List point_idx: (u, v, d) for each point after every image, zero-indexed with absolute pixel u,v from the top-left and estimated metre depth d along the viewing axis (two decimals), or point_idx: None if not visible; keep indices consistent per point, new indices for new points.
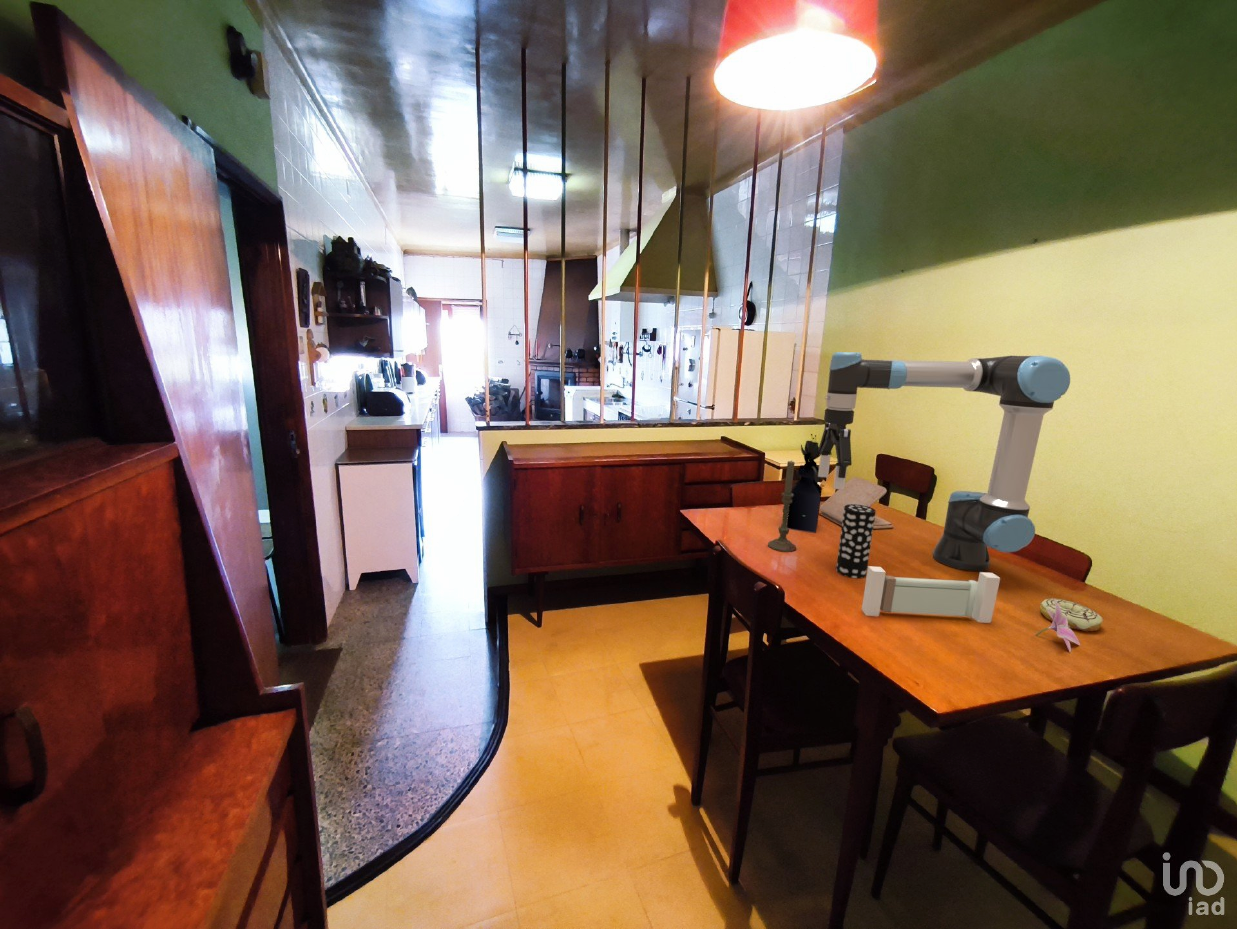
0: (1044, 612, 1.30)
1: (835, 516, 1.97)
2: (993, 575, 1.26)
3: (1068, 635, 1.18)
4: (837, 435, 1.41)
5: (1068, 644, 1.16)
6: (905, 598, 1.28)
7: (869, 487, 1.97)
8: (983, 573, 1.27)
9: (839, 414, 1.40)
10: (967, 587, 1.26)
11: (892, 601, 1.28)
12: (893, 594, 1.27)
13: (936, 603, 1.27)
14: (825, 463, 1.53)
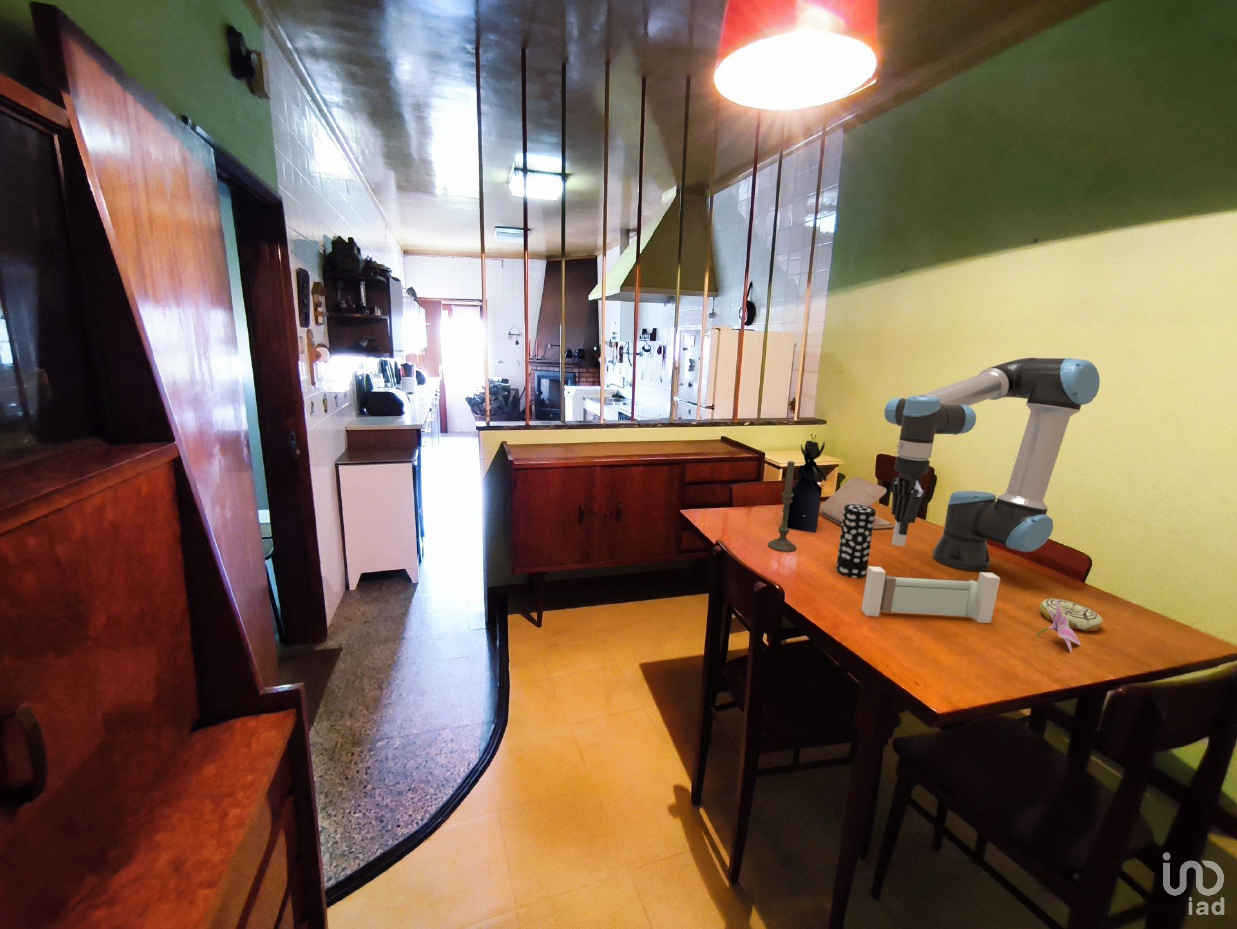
0: (1044, 612, 1.30)
1: (835, 516, 1.97)
2: (993, 575, 1.26)
3: (1069, 635, 1.18)
4: (909, 486, 1.30)
5: (1069, 644, 1.16)
6: (905, 598, 1.28)
7: (869, 487, 1.97)
8: (983, 573, 1.27)
9: (914, 465, 1.27)
10: (967, 587, 1.26)
11: (892, 601, 1.28)
12: (893, 594, 1.27)
13: (936, 603, 1.27)
14: None
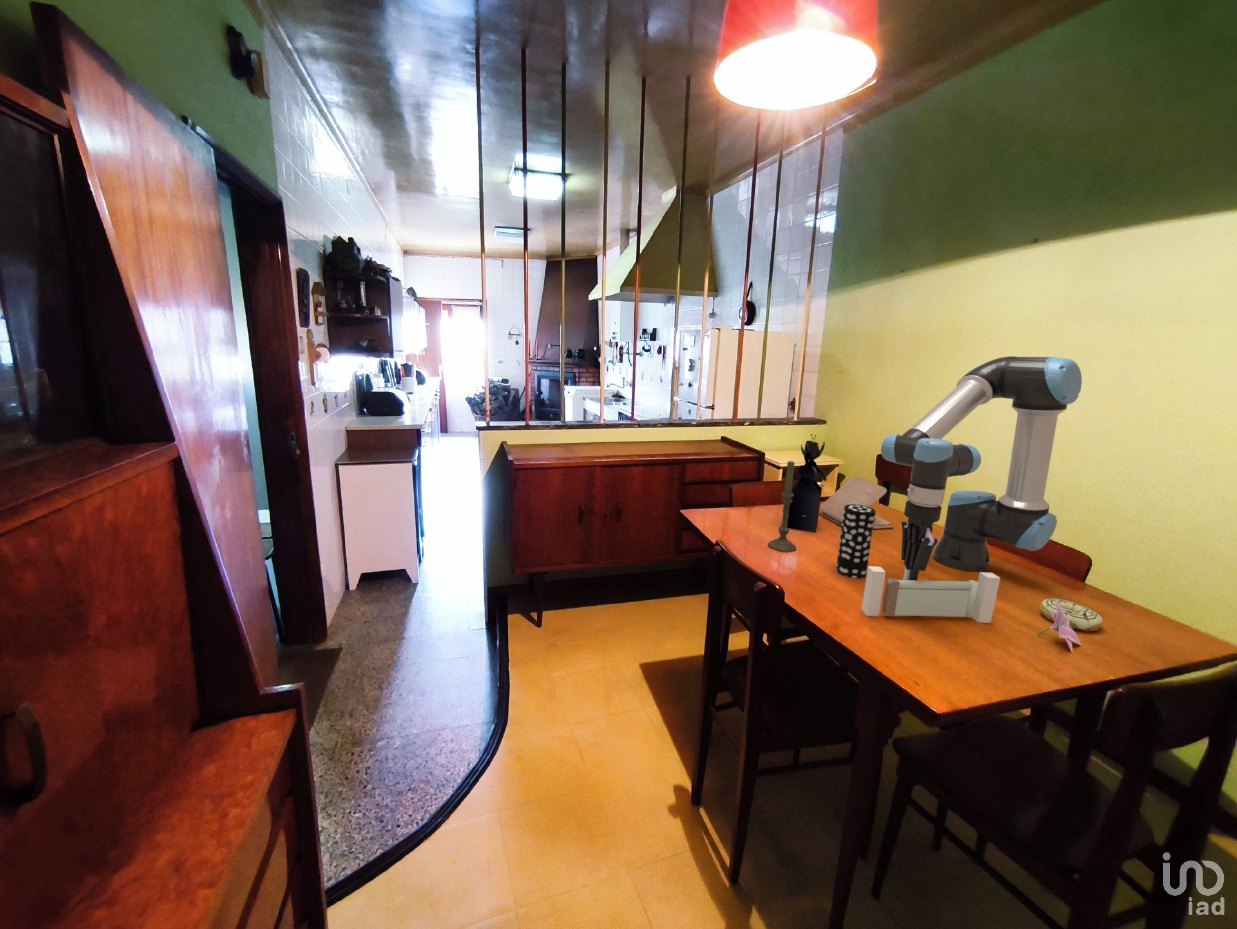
0: (1044, 612, 1.30)
1: (835, 516, 1.97)
2: (993, 575, 1.26)
3: (1070, 635, 1.18)
4: (920, 532, 1.23)
5: (1070, 644, 1.16)
6: (908, 601, 1.26)
7: (869, 487, 1.97)
8: (983, 573, 1.27)
9: (925, 511, 1.21)
10: (968, 587, 1.26)
11: (895, 604, 1.26)
12: (896, 597, 1.26)
13: (938, 604, 1.27)
14: None
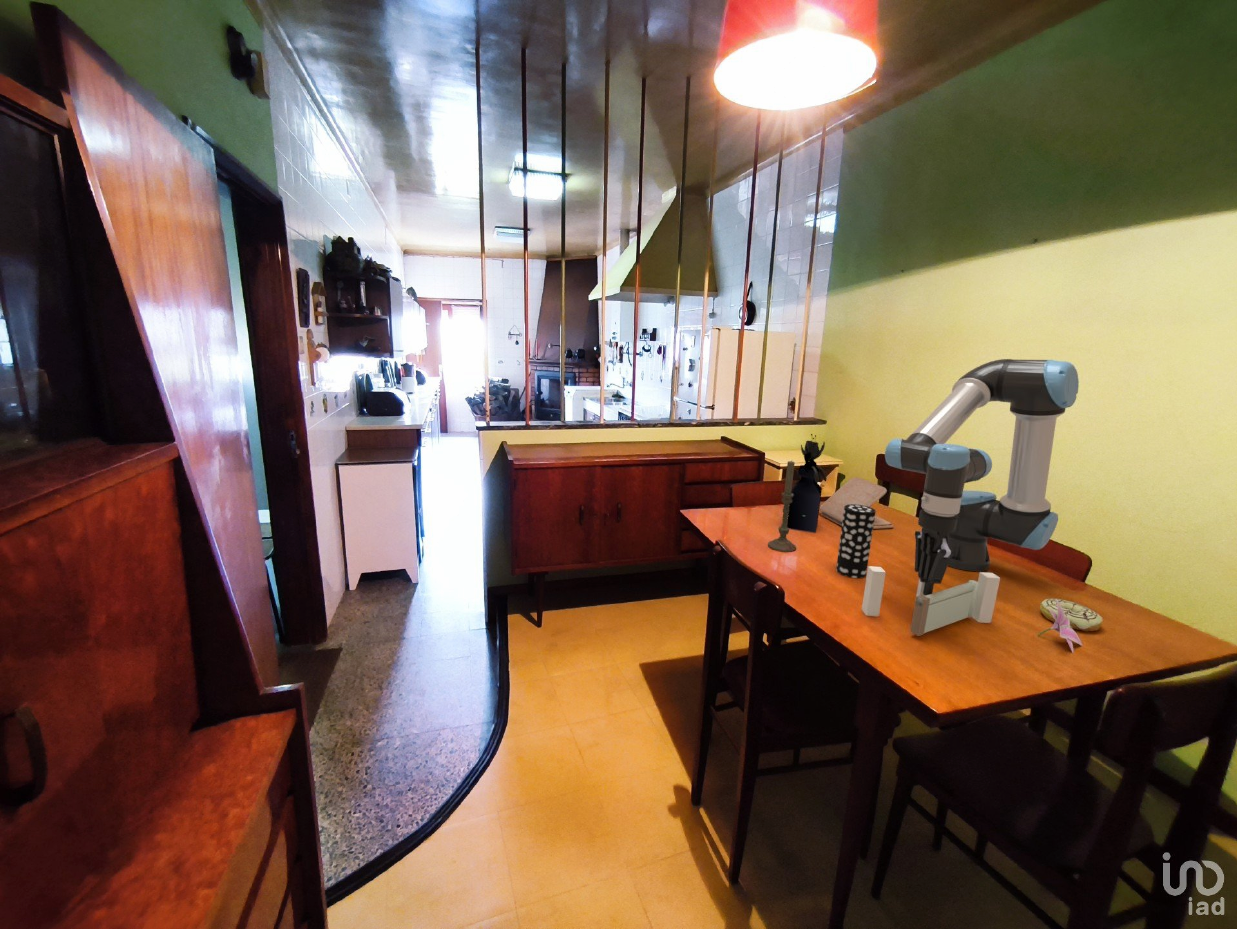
0: (1044, 612, 1.30)
1: (835, 516, 1.97)
2: (993, 575, 1.26)
3: (1071, 635, 1.18)
4: (935, 543, 1.17)
5: (1071, 644, 1.16)
6: (933, 615, 1.20)
7: (869, 487, 1.97)
8: (983, 573, 1.27)
9: (940, 521, 1.15)
10: (972, 589, 1.25)
11: (925, 622, 1.18)
12: (926, 614, 1.18)
13: (952, 612, 1.23)
14: None
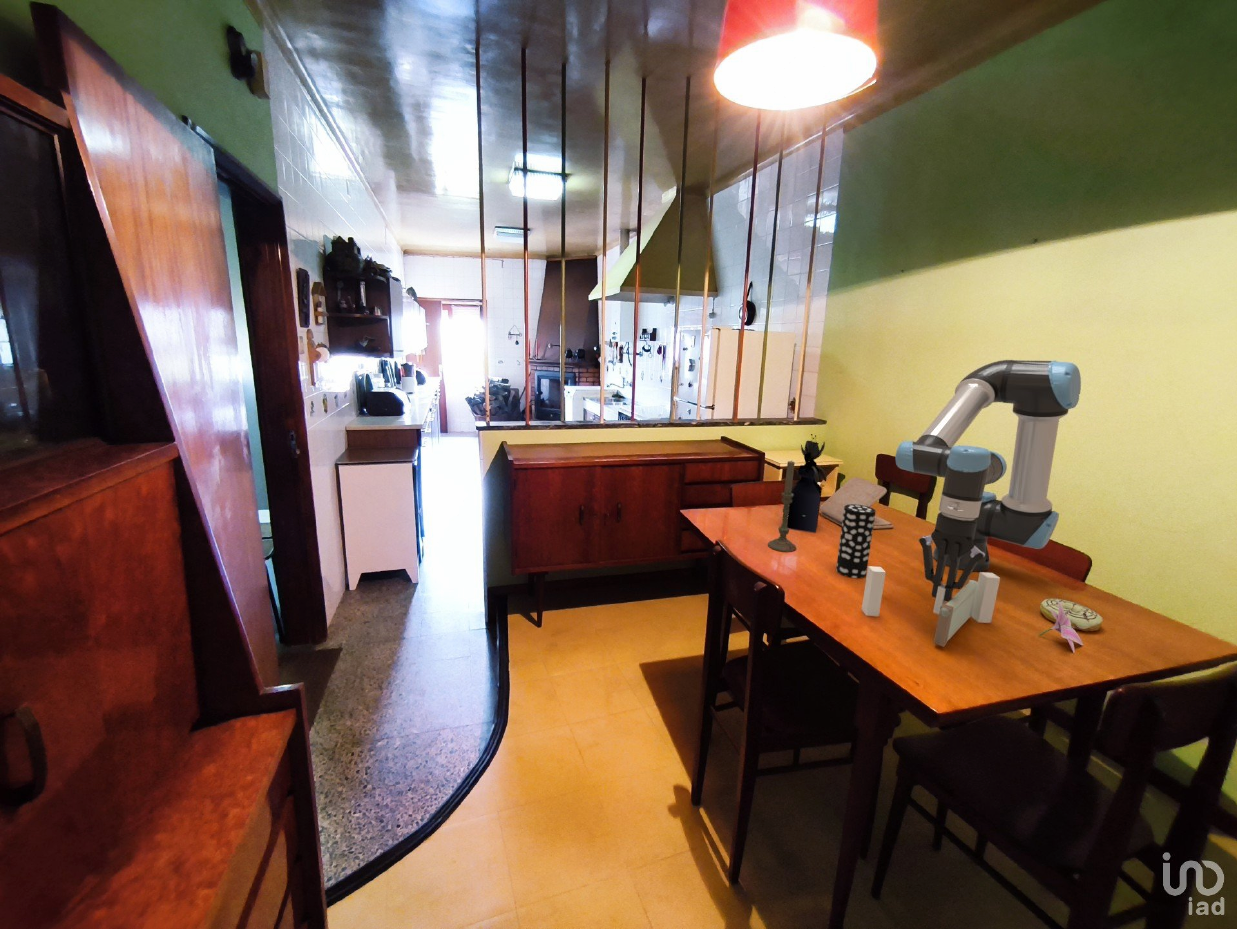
0: (1044, 612, 1.30)
1: (835, 516, 1.97)
2: (993, 575, 1.26)
3: (1072, 636, 1.18)
4: (963, 548, 1.14)
5: (1072, 645, 1.16)
6: (952, 623, 1.16)
7: (869, 487, 1.97)
8: (983, 573, 1.27)
9: (973, 526, 1.11)
10: (975, 589, 1.25)
11: (948, 631, 1.15)
12: (949, 623, 1.14)
13: (962, 615, 1.22)
14: None
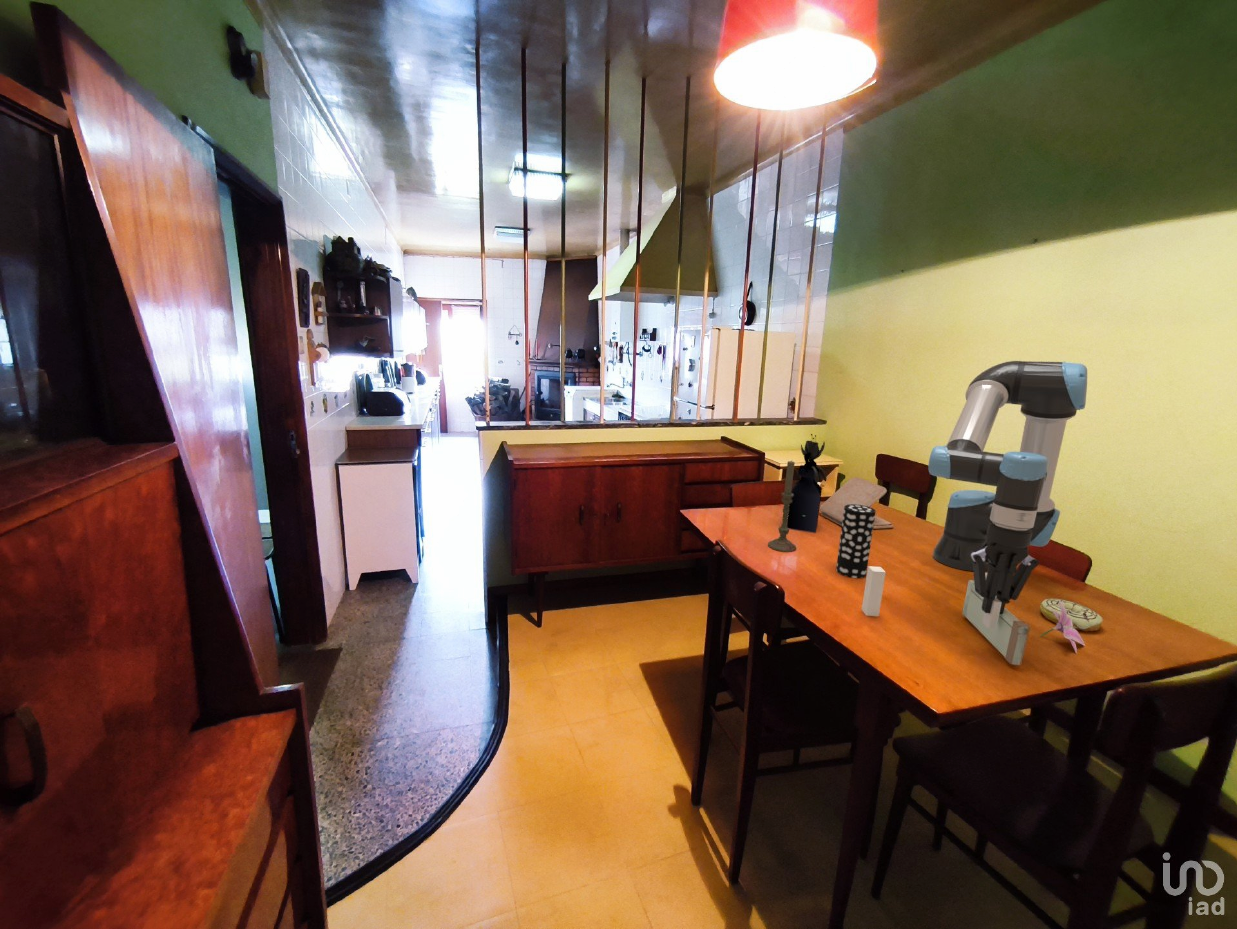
0: (1044, 612, 1.30)
1: (835, 516, 1.97)
2: None
3: (1074, 636, 1.18)
4: None
5: (1074, 645, 1.16)
6: None
7: (869, 487, 1.97)
8: None
9: None
10: None
11: None
12: None
13: None
14: None
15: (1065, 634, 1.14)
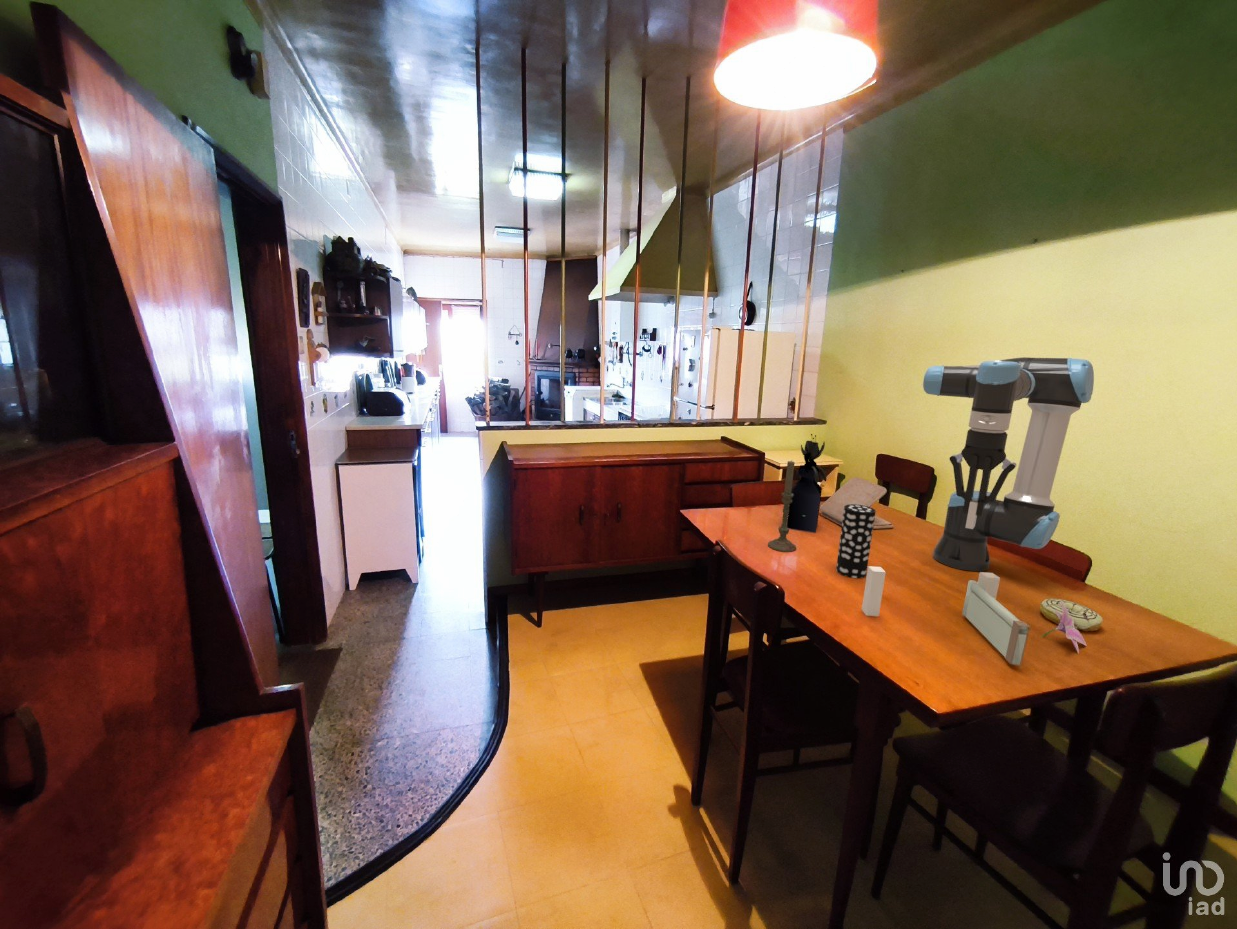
0: (1044, 612, 1.30)
1: (835, 516, 1.97)
2: (993, 575, 1.26)
3: (1075, 636, 1.18)
4: (994, 461, 1.17)
5: (1076, 645, 1.16)
6: None
7: (869, 487, 1.97)
8: (983, 573, 1.27)
9: (1004, 438, 1.15)
10: None
11: None
12: None
13: None
14: None
15: (1067, 634, 1.14)
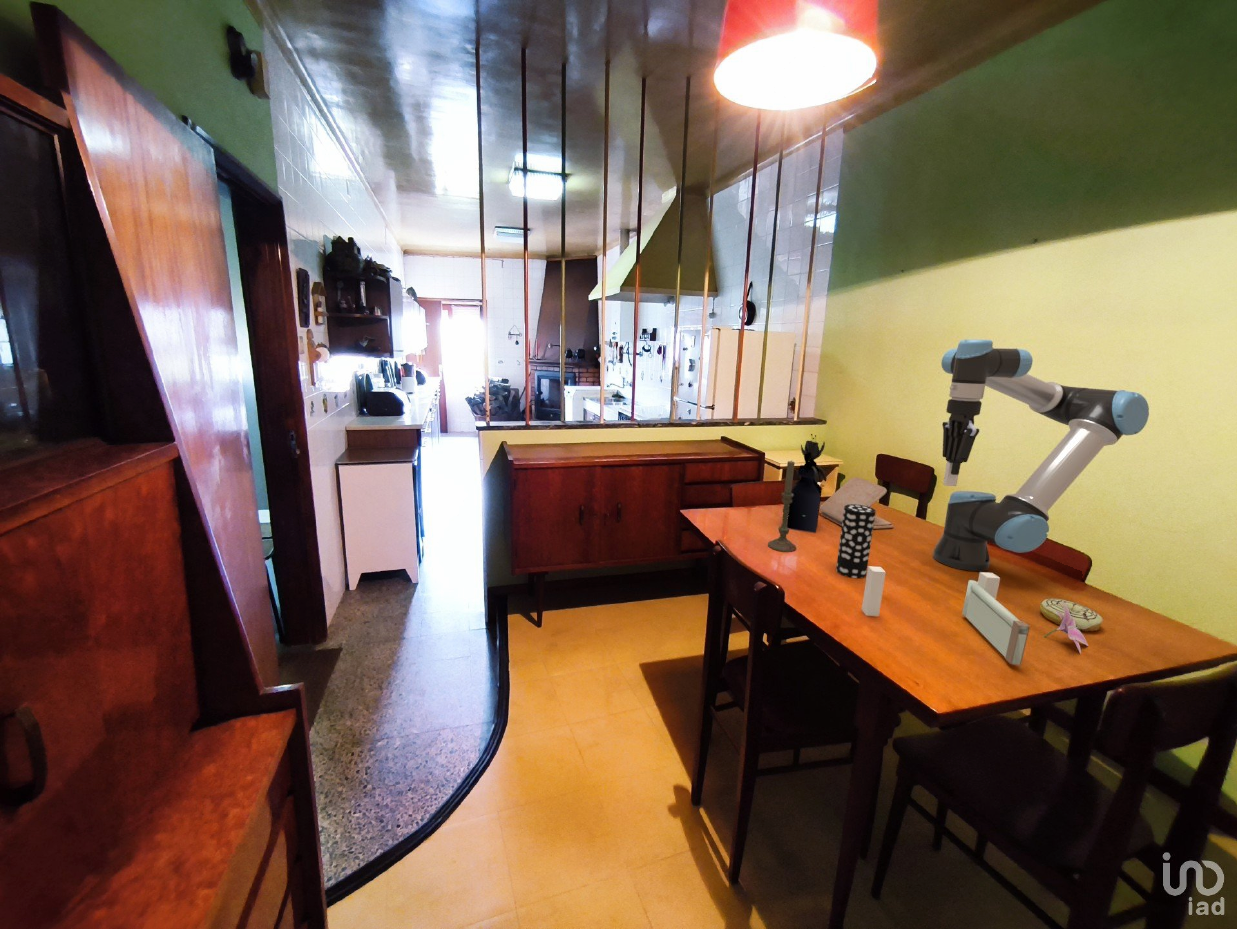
0: (1044, 612, 1.30)
1: (835, 516, 1.97)
2: (993, 575, 1.26)
3: (1077, 636, 1.17)
4: (962, 426, 1.35)
5: (1078, 645, 1.16)
6: None
7: (869, 487, 1.97)
8: (983, 573, 1.27)
9: (967, 405, 1.33)
10: None
11: None
12: None
13: None
14: None
15: (1069, 635, 1.14)
